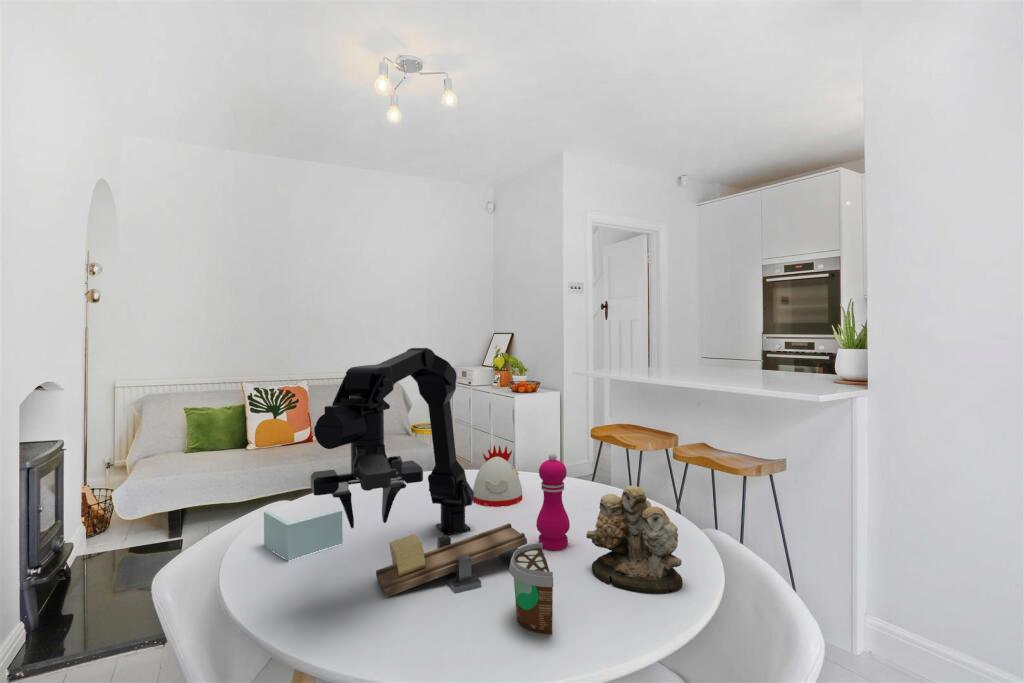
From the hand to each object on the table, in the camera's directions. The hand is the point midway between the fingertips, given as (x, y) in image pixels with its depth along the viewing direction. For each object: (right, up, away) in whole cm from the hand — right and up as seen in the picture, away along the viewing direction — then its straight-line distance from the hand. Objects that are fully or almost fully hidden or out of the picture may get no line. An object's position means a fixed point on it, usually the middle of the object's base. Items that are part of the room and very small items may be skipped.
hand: (368, 525), depth 95 cm
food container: (+28, -12, -9) cm, 32 cm away
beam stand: (+20, -12, +10) cm, 25 cm away
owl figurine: (+48, -12, +5) cm, 50 cm away
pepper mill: (+34, -12, +21) cm, 42 cm away
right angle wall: (-20, -12, +22) cm, 32 cm away
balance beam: (+14, -9, +7) cm, 18 cm away
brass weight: (+7, -10, +3) cm, 12 cm away
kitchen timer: (+21, -11, +53) cm, 59 cm away
